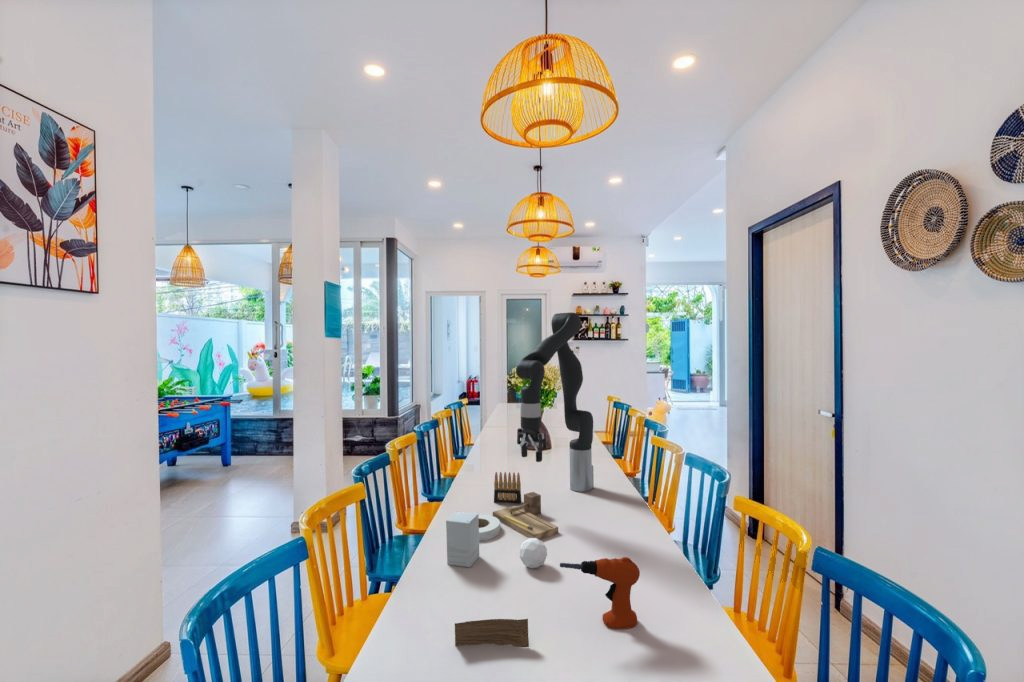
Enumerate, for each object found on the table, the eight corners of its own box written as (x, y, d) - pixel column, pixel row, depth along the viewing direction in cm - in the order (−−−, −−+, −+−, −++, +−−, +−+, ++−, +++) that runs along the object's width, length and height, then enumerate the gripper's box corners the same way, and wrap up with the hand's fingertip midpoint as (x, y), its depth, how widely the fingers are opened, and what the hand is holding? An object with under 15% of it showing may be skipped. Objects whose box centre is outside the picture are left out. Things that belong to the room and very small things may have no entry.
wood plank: (454, 650, 93) (454, 626, 93) (455, 643, 95) (455, 620, 95) (528, 647, 94) (528, 623, 93) (528, 641, 96) (527, 617, 96)
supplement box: (480, 556, 133) (479, 513, 133) (469, 568, 126) (469, 523, 126) (457, 552, 136) (456, 510, 136) (446, 564, 129) (445, 520, 129)
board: (515, 511, 168) (514, 505, 168) (558, 532, 149) (558, 526, 149) (492, 517, 162) (492, 511, 162) (534, 541, 143) (534, 534, 143)
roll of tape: (445, 535, 148) (444, 527, 148) (470, 519, 162) (470, 511, 162) (485, 545, 141) (485, 536, 141) (508, 527, 155) (508, 518, 155)
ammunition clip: (521, 502, 177) (521, 471, 177) (520, 503, 175) (520, 472, 175) (494, 501, 179) (494, 470, 179) (493, 502, 177) (493, 472, 177)
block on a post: (533, 510, 168) (533, 491, 168) (540, 514, 165) (540, 495, 165) (506, 518, 161) (506, 499, 161) (513, 522, 158) (513, 502, 157)
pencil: (505, 517, 157) (505, 515, 157) (532, 529, 147) (532, 527, 147) (503, 518, 156) (503, 515, 156) (530, 530, 146) (530, 527, 146)
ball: (540, 577, 126) (552, 561, 122) (514, 569, 125) (525, 553, 121) (540, 552, 133) (551, 536, 129) (515, 545, 132) (525, 528, 128)
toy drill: (552, 612, 103) (559, 546, 103) (632, 618, 104) (639, 553, 104) (555, 625, 98) (563, 557, 98) (639, 632, 99) (647, 564, 99)
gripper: (551, 416, 162) (552, 461, 162) (527, 411, 173) (527, 453, 173) (534, 418, 157) (535, 465, 157) (511, 413, 169) (511, 457, 169)
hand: (531, 459), depth 165 cm, fingers open, 8 cm apart
